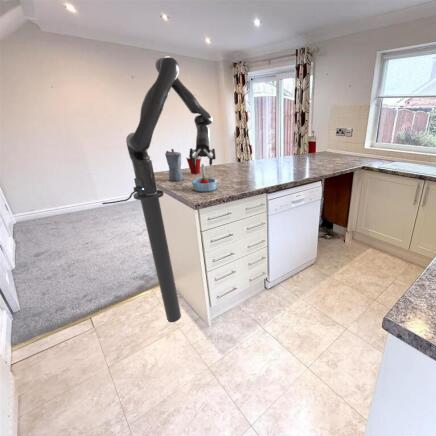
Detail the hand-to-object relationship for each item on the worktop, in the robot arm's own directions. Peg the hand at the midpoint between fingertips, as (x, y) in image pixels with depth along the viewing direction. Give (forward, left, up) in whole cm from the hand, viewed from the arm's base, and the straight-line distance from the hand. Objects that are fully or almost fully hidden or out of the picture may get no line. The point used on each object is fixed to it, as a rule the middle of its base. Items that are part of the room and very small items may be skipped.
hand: (202, 164), depth 141 cm
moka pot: (+6, +32, -15) cm, 35 cm away
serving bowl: (+1, +1, -15) cm, 15 cm away
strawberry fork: (+1, +1, -14) cm, 14 cm away
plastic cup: (+26, +35, -15) cm, 45 cm away
